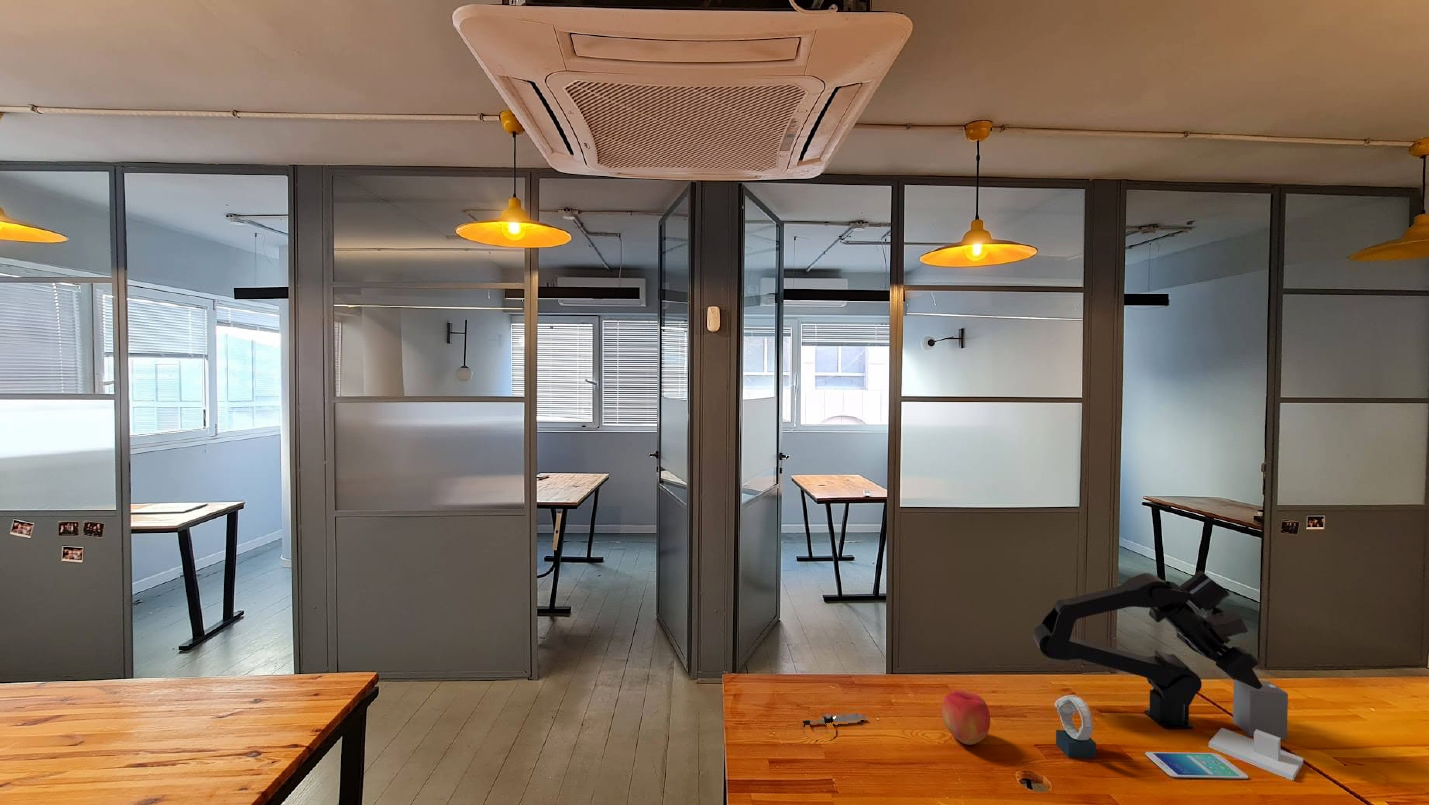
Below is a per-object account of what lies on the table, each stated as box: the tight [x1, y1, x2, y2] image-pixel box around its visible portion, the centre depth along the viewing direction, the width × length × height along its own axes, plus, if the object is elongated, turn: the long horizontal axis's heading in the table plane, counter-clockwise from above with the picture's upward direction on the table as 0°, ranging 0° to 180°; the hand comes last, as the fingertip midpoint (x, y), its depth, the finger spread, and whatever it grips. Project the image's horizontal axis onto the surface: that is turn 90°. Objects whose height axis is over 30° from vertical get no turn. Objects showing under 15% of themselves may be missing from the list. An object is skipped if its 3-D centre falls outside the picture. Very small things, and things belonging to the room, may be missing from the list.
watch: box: [1054, 694, 1097, 759], centre depth 117 cm, size 6×8×11 cm
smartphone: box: [1144, 751, 1249, 781], centre depth 112 cm, size 8×1×15 cm
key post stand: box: [1208, 727, 1304, 781], centre depth 116 cm, size 12×9×5 cm
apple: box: [941, 689, 991, 746], centre depth 121 cm, size 10×10×10 cm
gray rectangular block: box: [1232, 680, 1289, 741], centre depth 124 cm, size 7×5×10 cm
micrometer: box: [802, 712, 867, 725], centre depth 124 cm, size 15×7×3 cm, turn 98°
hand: (1244, 676), depth 124 cm, fingers open, 9 cm apart
